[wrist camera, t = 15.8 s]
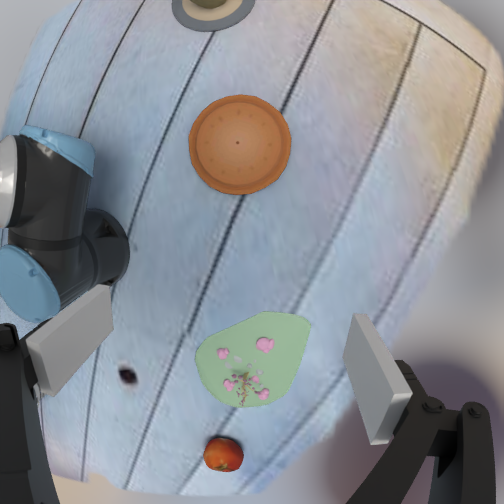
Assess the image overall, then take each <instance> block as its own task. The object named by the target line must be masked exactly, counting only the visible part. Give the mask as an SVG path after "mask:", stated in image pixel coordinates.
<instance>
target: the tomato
mask: <svg viewBox="0 0 504 504" xmlns="http://www.w3.org/2000/svg"><path fill="white" fill-rule="evenodd" d="M203 457H204V461H205V463H206V465H207V466H208V467H209V468H210V469H212V470H216V471H222V472H231V471H234V470H237V469H239V467H240V466H241V464H242V461H243V458H244V454H243V451H242V449H241V448H240V447H239V446H238V444H236V443H235V442H234V441H232V440H230V439H224V438H216V439H213V440H211V441H210V442H209V443H208V444H207V446H206V448H205V451H204V454H203Z"/></svg>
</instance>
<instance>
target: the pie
mask: <svg viewBox="0 0 504 504" xmlns="http://www.w3.org/2000/svg"><path fill="white" fill-rule="evenodd" d="M290 149H291V135H290V132H289V128H288V124H287V123H286V121H285V119H284V118H283V116H282V115H281V113H280V112H279V111H278V110H277V109H275V108H274V107H273V106H271V105H270V104H269V103H267V102H265V101H263V100H262V99H260V98H258V97H256V96H248V95H234V96H227V97H224V98H222V99H219V100H217V101H215V102H213V103H211V104H210V105H209V106H208V107H207V108H205V109H204V110H203V111H202V112H201V114H200V115H199V116H198V118H197V119H196V120H195V122H194V123H193V126H192V129H191V131H190V134H189V151H190V156H191V161H192V165H193V167H194V168H195V170H196V172H197V173H198V175H199V176H200V177H201V178H202V179H203V180H204V181H205V182H206V183H207V184H208V185H209V186H210V187H212V188H214V189H216V190H218V191H220V192H222V193H226V194H233V195H241V194H252V193H254V192H256V191H259V190H261V189H263V188H265V187H267V186H268V185H270V184H271V183H273V182H274V181H276V180H277V179H278V178H279V176H280V175H281V173H282V172H283V170H284V169H285V168H286V165H287V162H288V159H289V155H290Z"/></svg>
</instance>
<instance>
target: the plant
mask: <svg viewBox="0 0 504 504" xmlns="http://www.w3.org/2000/svg"><path fill="white" fill-rule="evenodd" d="M310 328H311V324H310V323H309V321H308V320H307V319H305V318H303V317H301V316H298V315H294V314H287V313H281V312H268V311H263V312H261V313H259V314H257V315H255V316H253V317H251V318H248V319H246V320H244V321H242V322H240V323H238V324H235V325H233V326H231V327H229V328H227V329H224V330H222V331H220V332H218V333H216V334H213V335H211V336H209V337H208V338H206V339H205V340H204V341H203V343H202V344H201V345H200V347H199V348H198V350H197V351H196V356H195V362H196V366H197V369H198V372H199V375H200V378H201V381H202V383H203V385H204V386H205V387H206V389H207V390H208V391H209V392H210V393H211V394H212V395H213V396H214V397H215V398H216V399H217V400H219V401H220V402H222V403H225V404H227V405H230V406H234V407H239V408H242V407H254V406H262V405H267V404H269V403H271V402H273V401H275V400H277V399H279V398H281V397H282V396H284V395H285V394H286V393H287V392H288V391H289V388H290V386H291V384H292V382H293V379H294V377H295V375H296V373H297V370H298V368H299V366H300V363H301V360H302V356H303V353H304V350H305V346H306V343H307V340H308V336H309V333H310Z"/></svg>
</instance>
